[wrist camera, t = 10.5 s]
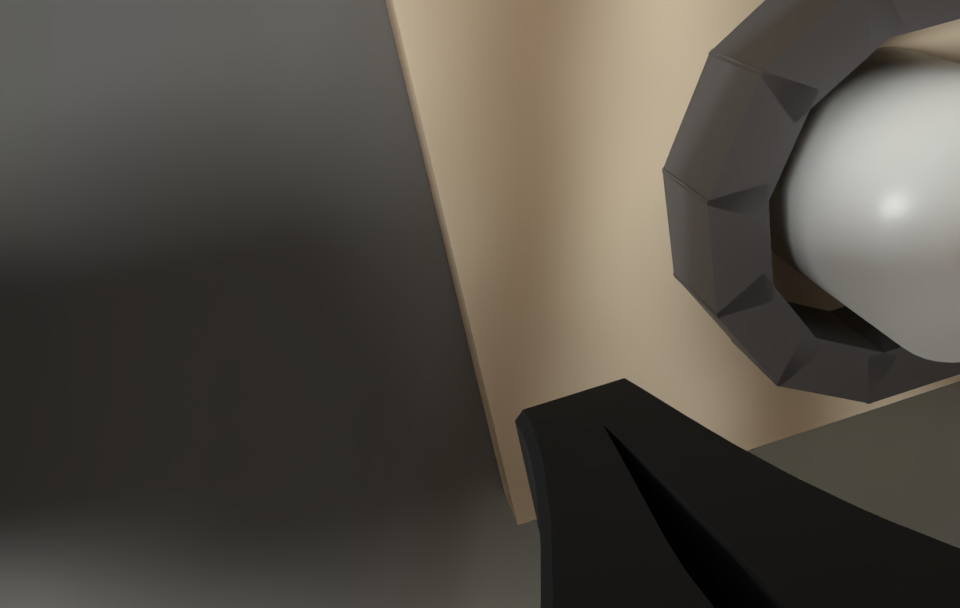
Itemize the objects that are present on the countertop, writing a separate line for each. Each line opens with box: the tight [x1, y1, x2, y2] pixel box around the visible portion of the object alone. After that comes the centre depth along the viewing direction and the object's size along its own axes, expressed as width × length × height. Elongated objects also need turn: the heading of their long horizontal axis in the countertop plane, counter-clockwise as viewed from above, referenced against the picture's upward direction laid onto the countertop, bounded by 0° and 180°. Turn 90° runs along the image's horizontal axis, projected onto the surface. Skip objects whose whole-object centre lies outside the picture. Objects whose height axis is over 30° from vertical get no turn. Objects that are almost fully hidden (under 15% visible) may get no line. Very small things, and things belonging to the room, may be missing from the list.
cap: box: [769, 47, 960, 363], centre depth 17 cm, size 5×5×5 cm
